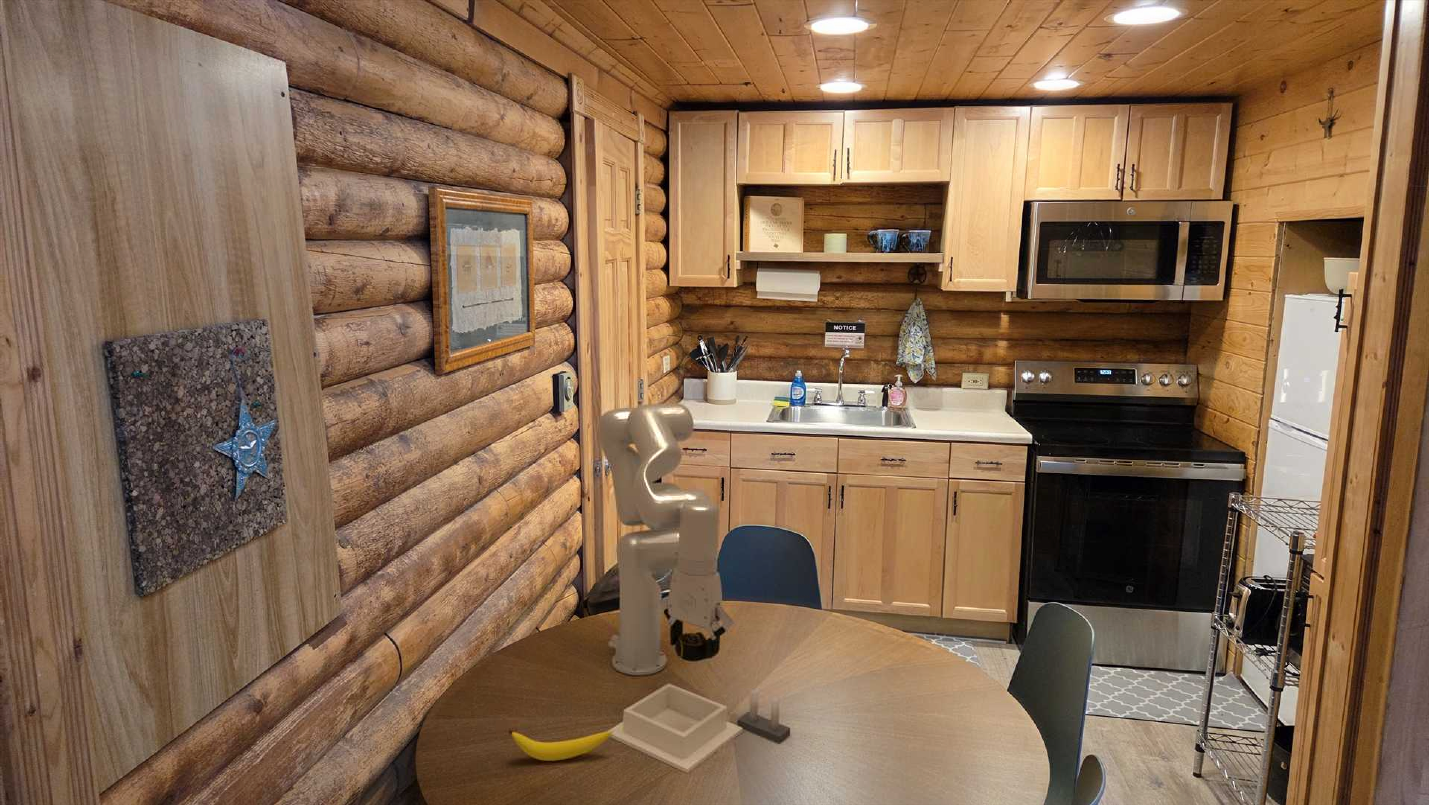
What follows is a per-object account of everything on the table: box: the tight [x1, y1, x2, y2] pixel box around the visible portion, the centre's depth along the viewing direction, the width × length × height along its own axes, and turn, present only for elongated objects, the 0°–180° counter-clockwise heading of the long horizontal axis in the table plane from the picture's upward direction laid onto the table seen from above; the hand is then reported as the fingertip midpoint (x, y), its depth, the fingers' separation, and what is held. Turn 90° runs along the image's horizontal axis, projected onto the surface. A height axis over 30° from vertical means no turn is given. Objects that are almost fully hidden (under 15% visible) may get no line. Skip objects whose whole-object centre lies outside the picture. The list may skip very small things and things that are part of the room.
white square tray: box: [607, 683, 744, 774], centre depth 166 cm, size 20×18×5 cm
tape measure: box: [674, 631, 709, 662], centre depth 164 cm, size 7×7×4 cm
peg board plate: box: [736, 689, 791, 744], centre depth 168 cm, size 10×4×8 cm, turn 54°
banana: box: [508, 729, 613, 762], centre depth 156 cm, size 3×19×6 cm, turn 100°
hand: (694, 649), depth 164 cm, fingers closed on tape measure, 8 cm apart
